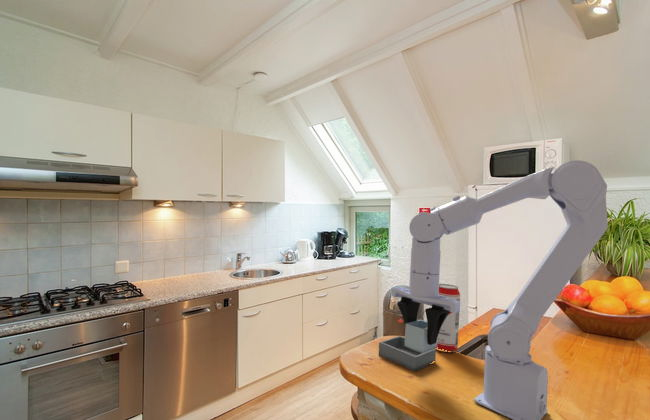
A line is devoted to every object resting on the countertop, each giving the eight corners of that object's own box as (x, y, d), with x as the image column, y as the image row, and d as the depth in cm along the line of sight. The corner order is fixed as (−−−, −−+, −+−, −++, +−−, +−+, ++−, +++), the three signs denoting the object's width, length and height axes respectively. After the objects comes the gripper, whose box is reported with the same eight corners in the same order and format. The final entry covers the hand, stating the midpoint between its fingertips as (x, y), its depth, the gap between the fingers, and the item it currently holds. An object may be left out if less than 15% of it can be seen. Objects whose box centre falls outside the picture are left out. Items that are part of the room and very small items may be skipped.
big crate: (435, 362, 75) (435, 349, 75) (415, 371, 70) (416, 357, 70) (399, 347, 83) (399, 335, 83) (378, 354, 77) (379, 342, 77)
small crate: (437, 347, 66) (438, 325, 67) (422, 353, 63) (424, 329, 63) (418, 340, 70) (420, 319, 70) (404, 345, 66) (405, 323, 66)
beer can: (453, 356, 79) (456, 289, 80) (427, 348, 83) (431, 285, 83) (460, 349, 84) (463, 286, 84) (436, 342, 88) (439, 282, 88)
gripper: (468, 277, 64) (465, 347, 64) (406, 265, 75) (402, 325, 74) (450, 279, 59) (447, 355, 59) (386, 267, 70) (383, 331, 70)
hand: (421, 339), depth 66 cm, fingers closed on small crate, 4 cm apart
